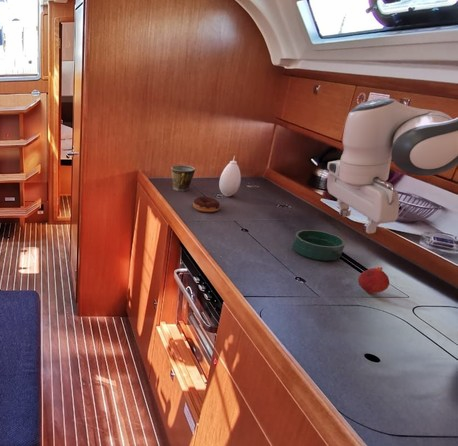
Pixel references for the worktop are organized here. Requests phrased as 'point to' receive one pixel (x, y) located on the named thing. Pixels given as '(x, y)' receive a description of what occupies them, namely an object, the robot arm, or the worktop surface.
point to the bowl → (318, 245)
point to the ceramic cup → (182, 177)
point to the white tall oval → (230, 179)
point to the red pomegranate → (373, 280)
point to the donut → (206, 204)
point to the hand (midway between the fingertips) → (356, 223)
